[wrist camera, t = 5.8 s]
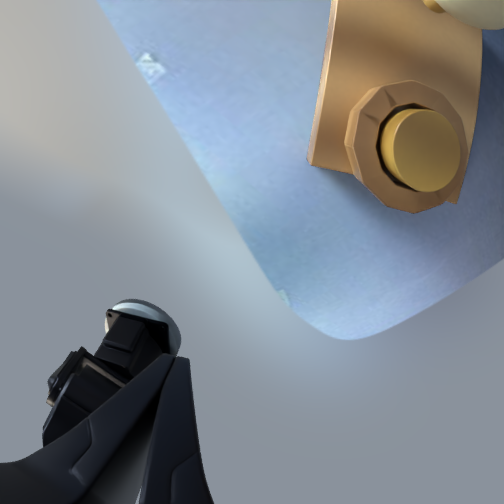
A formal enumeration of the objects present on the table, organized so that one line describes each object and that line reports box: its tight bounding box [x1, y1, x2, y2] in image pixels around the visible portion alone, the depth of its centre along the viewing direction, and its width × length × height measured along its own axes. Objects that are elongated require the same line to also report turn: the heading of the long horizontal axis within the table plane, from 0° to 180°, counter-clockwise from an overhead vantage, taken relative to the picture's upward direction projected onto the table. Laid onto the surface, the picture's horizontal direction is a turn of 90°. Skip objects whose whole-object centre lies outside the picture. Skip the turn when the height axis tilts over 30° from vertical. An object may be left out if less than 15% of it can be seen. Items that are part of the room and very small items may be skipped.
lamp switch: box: [380, 109, 461, 192], centre depth 12 cm, size 4×4×2 cm
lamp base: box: [307, 0, 482, 214], centre depth 12 cm, size 15×10×4 cm
